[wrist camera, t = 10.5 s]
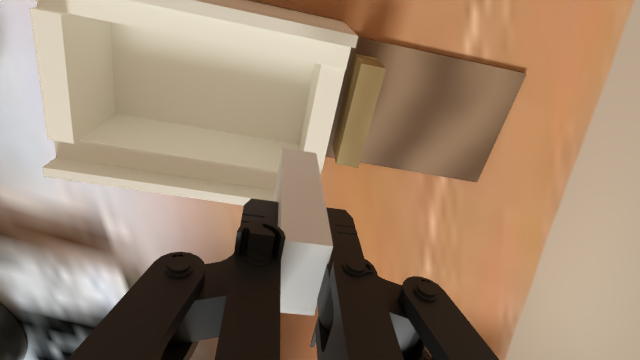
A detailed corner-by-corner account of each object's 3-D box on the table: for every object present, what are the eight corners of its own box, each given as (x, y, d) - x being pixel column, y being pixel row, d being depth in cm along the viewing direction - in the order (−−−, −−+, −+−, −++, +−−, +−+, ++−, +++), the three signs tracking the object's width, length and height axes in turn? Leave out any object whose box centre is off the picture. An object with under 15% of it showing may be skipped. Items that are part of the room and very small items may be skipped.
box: (102, 130, 28) (43, 176, 22) (92, -35, 23) (12, -39, 17) (311, 165, 31) (315, 215, 24) (343, 21, 26) (358, 36, 19)
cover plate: (313, 150, 31) (316, 175, 27) (340, 31, 26) (346, 40, 23) (473, 177, 33) (496, 204, 29) (520, 71, 28) (554, 85, 25)
